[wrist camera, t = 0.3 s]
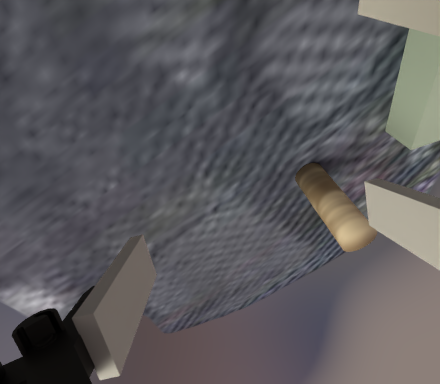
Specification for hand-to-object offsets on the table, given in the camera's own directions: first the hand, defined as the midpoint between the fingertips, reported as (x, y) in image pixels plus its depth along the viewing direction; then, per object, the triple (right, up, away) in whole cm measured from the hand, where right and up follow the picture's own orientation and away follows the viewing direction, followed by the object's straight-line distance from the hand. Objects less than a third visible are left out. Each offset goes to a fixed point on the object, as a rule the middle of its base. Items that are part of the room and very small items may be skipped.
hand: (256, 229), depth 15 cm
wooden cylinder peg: (+11, +5, +22) cm, 25 cm away
